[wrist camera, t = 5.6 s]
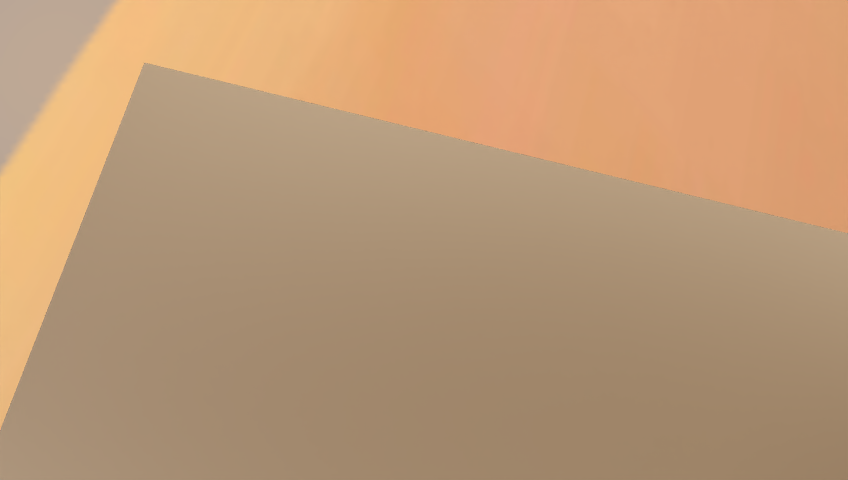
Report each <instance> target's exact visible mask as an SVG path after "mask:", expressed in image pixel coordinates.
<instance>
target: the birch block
mask: <svg viewBox="0 0 848 480" xmlns="http://www.w3.org/2000/svg"><path fill="white" fill-rule="evenodd" d="M0 480H848V233H844V232H840V231H836V230H832V229H828V228H824V227H819V226H815V225H811V224H807V223H803V222H799V221H795V220H791V219H786V218H782V217H778V216H774V215H770V214H766V213H762V212H758V211H753V210H749V209H745V208H741V207H737V206H733V205H729V204H725V203H721V202H716V201H712V200H708V199H704V198H700V197H696V196H692V195H688V194H683V193H679V192H675V191H671V190H667V189H663V188H659V187H655V186H650V185H646V184H642V183H638V182H634V181H630V180H626V179H622V178H618V177H613V176H609V175H605V174H601V173H597V172H593V171H589V170H585V169H580V168H576V167H572V166H568V165H564V164H560V163H556V162H552V161H547V160H543V159H539V158H535V157H531V156H527V155H523V154H519V153H514V152H510V151H506V150H502V149H498V148H494V147H490V146H486V145H482V144H477V143H473V142H469V141H465V140H461V139H457V138H453V137H449V136H444V135H440V134H436V133H432V132H428V131H424V130H420V129H416V128H411V127H407V126H403V125H399V124H395V123H391V122H387V121H383V120H379V119H374V118H370V117H366V116H362V115H358V114H354V113H350V112H346V111H341V110H337V109H333V108H329V107H325V106H321V105H317V104H313V103H308V102H304V101H300V100H296V99H292V98H288V97H284V96H280V95H276V94H271V93H267V92H263V91H259V90H255V89H251V88H247V87H243V86H238V85H234V84H230V83H226V82H222V81H218V80H214V79H210V78H205V77H201V76H197V75H193V74H189V73H185V72H181V71H177V70H173V69H168V68H164V67H160V66H156V65H152V64H148V63H144V65H143V68H142V70H141V73H140V75H139V78H138V80H137V83H136V85H135V88H134V91H133V93H132V96H131V98H130V101H129V103H128V106H127V108H126V111H125V114H124V116H123V119H122V121H121V124H120V126H119V129H118V131H117V134H116V136H115V139H114V142H113V144H112V147H111V149H110V152H109V154H108V157H107V159H106V162H105V165H104V167H103V170H102V172H101V175H100V177H99V180H98V182H97V185H96V187H95V190H94V193H93V195H92V198H91V200H90V203H89V205H88V208H87V210H86V213H85V216H84V218H83V221H82V223H81V226H80V228H79V231H78V233H77V236H76V238H75V241H74V244H73V246H72V249H71V251H70V254H69V256H68V259H67V261H66V264H65V267H64V269H63V272H62V274H61V277H60V279H59V282H58V284H57V287H56V290H55V292H54V295H53V297H52V300H51V302H50V305H49V307H48V310H47V312H46V315H45V318H44V320H43V323H42V325H41V328H40V330H39V333H38V335H37V338H36V341H35V343H34V346H33V348H32V351H31V353H30V356H29V358H28V361H27V363H26V366H25V369H24V371H23V374H22V376H21V379H20V381H19V384H18V386H17V389H16V392H15V394H14V397H13V399H12V402H11V404H10V407H9V409H8V412H7V414H6V417H5V420H4V422H3V425H2V427H1V430H0Z"/></svg>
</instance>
